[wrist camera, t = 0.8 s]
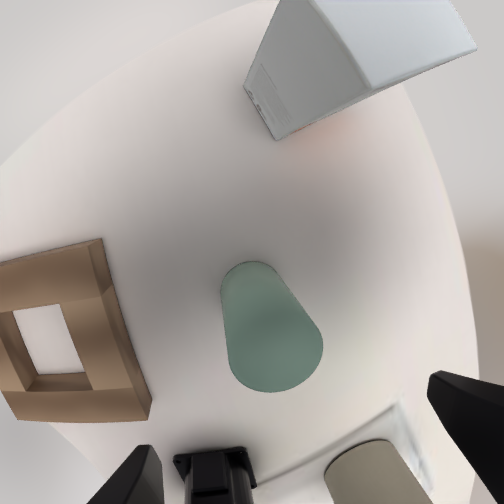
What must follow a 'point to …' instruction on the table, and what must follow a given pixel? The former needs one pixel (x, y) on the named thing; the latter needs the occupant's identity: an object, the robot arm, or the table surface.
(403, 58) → the skincare box
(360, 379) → the table surface
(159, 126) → the table surface
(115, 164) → the table surface
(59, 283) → the walnut holder
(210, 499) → the robot arm
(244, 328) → the green peg
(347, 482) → the travel mug
